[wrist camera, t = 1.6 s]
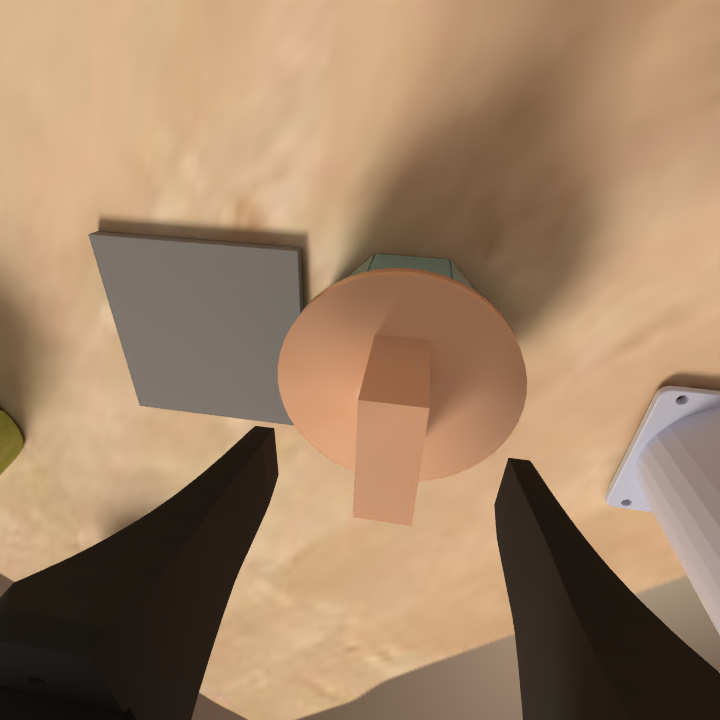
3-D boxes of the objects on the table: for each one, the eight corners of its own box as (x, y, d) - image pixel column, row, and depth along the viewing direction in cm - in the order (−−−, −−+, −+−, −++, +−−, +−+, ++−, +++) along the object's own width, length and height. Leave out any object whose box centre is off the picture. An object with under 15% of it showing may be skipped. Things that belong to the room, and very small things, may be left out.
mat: (301, 247, 19) (297, 251, 18) (307, 420, 24) (305, 426, 23) (97, 231, 20) (88, 234, 19) (145, 399, 25) (139, 405, 25)
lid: (553, 280, 14) (602, 350, 10) (495, 481, 19) (511, 583, 15) (275, 257, 15) (217, 312, 11) (289, 453, 20) (253, 542, 16)
